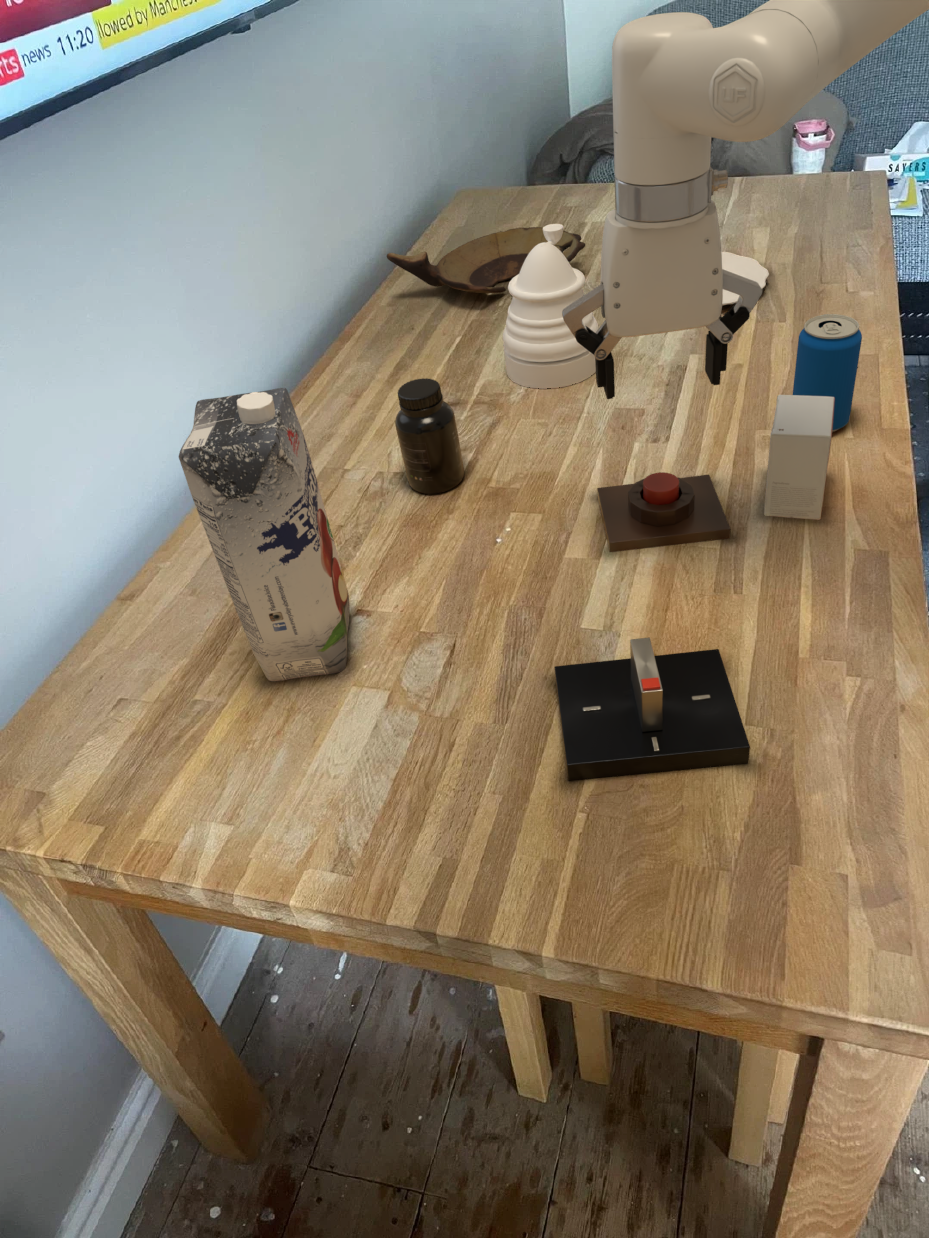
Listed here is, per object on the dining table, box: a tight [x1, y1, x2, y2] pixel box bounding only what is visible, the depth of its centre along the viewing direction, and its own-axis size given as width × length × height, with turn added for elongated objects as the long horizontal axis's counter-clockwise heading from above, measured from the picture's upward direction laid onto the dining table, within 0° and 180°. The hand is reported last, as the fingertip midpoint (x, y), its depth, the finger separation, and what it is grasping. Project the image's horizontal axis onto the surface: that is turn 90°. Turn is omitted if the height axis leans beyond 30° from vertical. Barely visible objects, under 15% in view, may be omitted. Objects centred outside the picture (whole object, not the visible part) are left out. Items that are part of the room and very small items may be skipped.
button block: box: [596, 474, 731, 553], centre depth 97 cm, size 12×10×4 cm
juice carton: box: [178, 387, 350, 682], centre depth 82 cm, size 9×10×27 cm
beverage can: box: [792, 313, 863, 433], centre depth 105 cm, size 6×6×12 cm
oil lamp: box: [386, 226, 586, 294], centre depth 151 cm, size 22×30×8 cm
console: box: [554, 648, 751, 782], centre depth 77 cm, size 14×11×3 cm
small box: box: [763, 394, 835, 521], centre depth 95 cm, size 8×6×10 cm
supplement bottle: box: [394, 377, 465, 495], centre depth 107 cm, size 7×7×12 cm
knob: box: [629, 637, 663, 732], centre depth 75 cm, size 6×2×5 cm, turn 1°
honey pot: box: [502, 223, 600, 390], centre depth 123 cm, size 13×13×18 cm
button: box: [643, 471, 679, 505], centre depth 96 cm, size 4×4×2 cm
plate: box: [721, 251, 770, 307], centre depth 141 cm, size 21×21×2 cm
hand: (660, 385), depth 88 cm, fingers open, 9 cm apart
